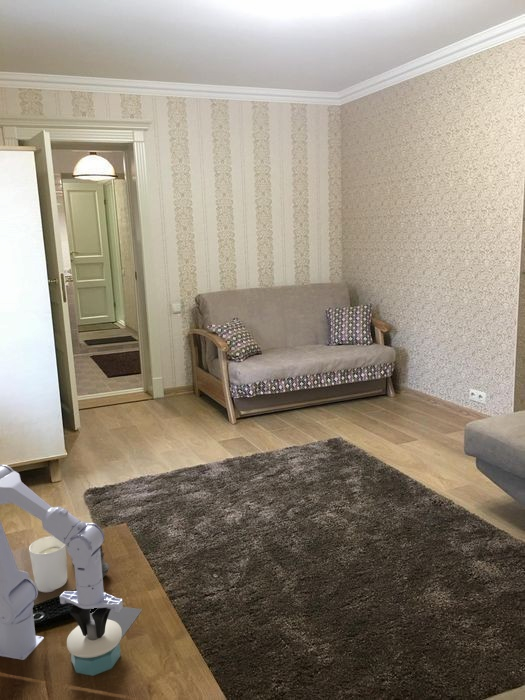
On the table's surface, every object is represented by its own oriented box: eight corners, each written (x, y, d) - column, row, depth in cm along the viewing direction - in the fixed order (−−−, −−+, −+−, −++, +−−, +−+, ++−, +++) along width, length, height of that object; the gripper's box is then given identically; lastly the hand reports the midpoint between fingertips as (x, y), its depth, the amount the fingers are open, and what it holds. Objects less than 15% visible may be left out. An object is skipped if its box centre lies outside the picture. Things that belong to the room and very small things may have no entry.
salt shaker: (104, 586, 165) (101, 546, 163) (84, 584, 167) (81, 544, 164) (113, 574, 171) (110, 535, 169) (94, 572, 172) (91, 534, 170)
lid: (56, 653, 131) (54, 637, 130) (84, 618, 143) (82, 604, 142) (106, 661, 128) (104, 645, 128) (130, 625, 140) (129, 610, 139)
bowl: (64, 672, 133) (62, 656, 132) (88, 642, 142) (86, 628, 142) (105, 680, 130) (104, 663, 130) (126, 649, 140) (125, 634, 139)
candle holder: (25, 590, 164) (20, 550, 162) (50, 571, 173) (46, 533, 171) (53, 597, 161) (49, 556, 158) (77, 578, 170) (73, 539, 167)
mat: (69, 637, 145) (69, 634, 145) (97, 604, 157) (97, 602, 157) (118, 644, 142) (118, 642, 141) (142, 611, 154) (142, 609, 154)
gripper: (127, 573, 135) (131, 627, 137) (70, 566, 138) (75, 618, 141) (112, 591, 128) (116, 647, 130) (52, 583, 131) (57, 638, 134)
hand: (94, 634), depth 135 cm, fingers closed on lid, 3 cm apart
